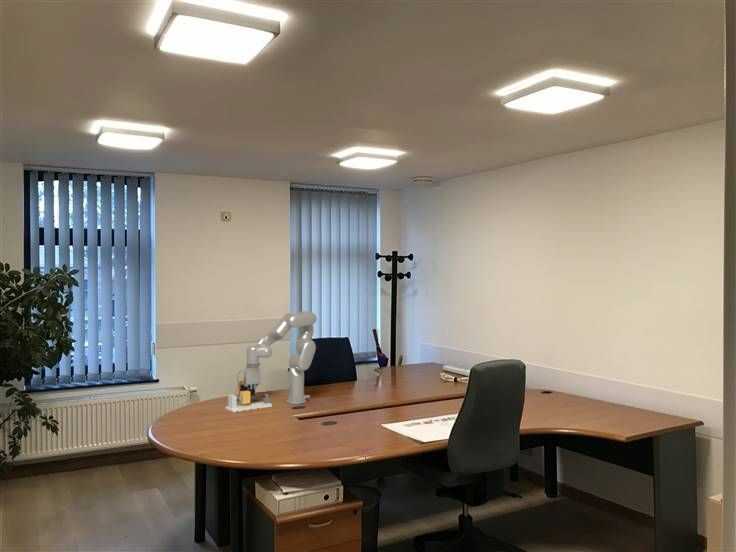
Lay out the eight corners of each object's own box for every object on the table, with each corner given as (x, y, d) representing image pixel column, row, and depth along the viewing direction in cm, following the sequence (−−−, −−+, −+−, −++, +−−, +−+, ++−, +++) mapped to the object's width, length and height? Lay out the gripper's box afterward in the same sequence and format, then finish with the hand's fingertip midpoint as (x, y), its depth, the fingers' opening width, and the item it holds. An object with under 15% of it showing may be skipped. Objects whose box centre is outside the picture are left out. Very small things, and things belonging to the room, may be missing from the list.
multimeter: (258, 398, 390) (259, 369, 390) (254, 402, 381) (255, 371, 380) (237, 398, 392) (238, 368, 392) (232, 401, 382) (233, 370, 382)
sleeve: (247, 401, 366) (247, 390, 366) (250, 402, 363) (250, 391, 363) (239, 402, 362) (240, 391, 362) (242, 403, 359) (243, 392, 359)
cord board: (264, 403, 377) (264, 389, 377) (272, 406, 369) (272, 392, 369) (225, 409, 360) (225, 394, 360) (233, 412, 352) (233, 397, 352)
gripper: (260, 364, 373) (259, 392, 373) (239, 366, 364) (238, 395, 364) (266, 365, 367) (265, 394, 367) (244, 367, 358) (243, 397, 358)
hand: (251, 395), depth 366 cm, fingers closed
